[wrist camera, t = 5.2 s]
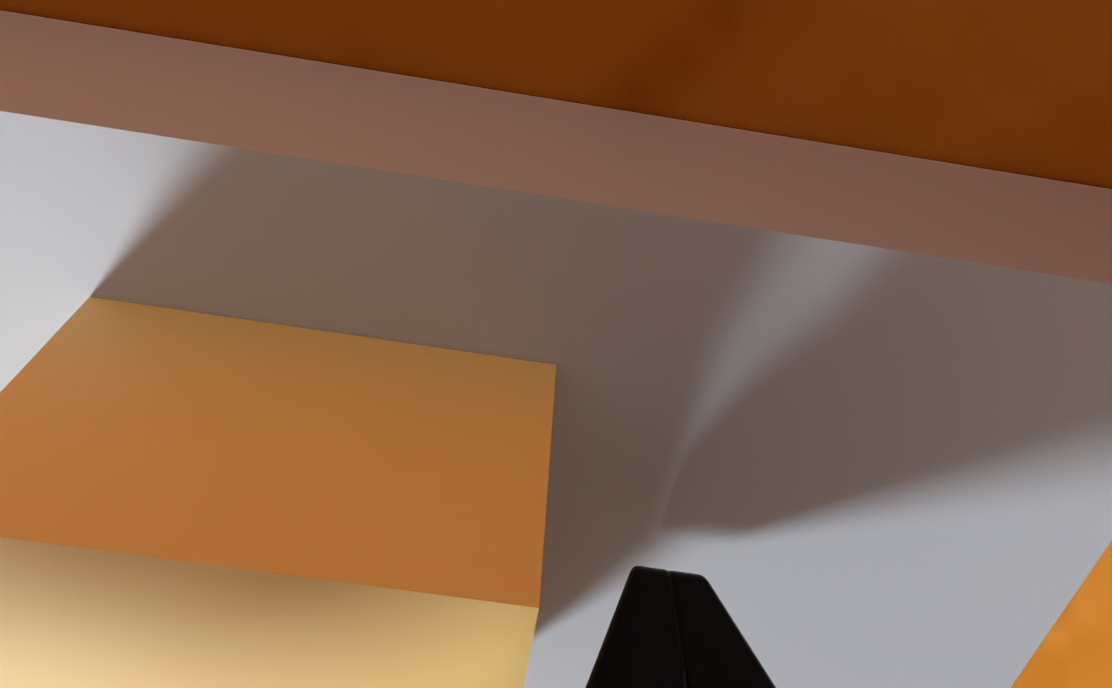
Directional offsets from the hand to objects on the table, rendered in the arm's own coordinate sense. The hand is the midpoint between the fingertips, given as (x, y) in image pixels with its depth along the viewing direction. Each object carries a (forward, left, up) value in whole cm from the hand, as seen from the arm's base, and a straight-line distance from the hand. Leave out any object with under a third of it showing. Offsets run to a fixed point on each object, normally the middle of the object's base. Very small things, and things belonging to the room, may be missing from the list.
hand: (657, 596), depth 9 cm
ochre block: (+4, 0, -1) cm, 4 cm away
